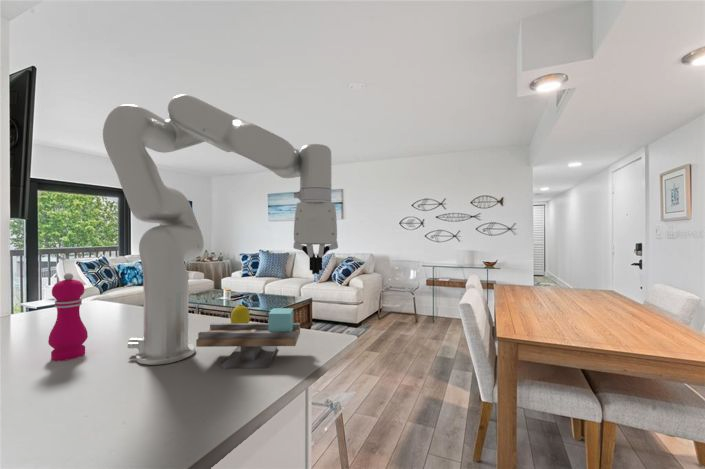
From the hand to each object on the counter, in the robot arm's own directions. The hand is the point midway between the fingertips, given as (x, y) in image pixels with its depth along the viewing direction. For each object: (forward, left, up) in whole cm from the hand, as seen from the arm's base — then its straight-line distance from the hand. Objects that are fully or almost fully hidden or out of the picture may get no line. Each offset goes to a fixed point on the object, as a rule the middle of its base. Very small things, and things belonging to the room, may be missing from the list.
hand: (315, 273), depth 81 cm
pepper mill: (-59, +2, -21) cm, 63 cm away
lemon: (-24, +22, -21) cm, 39 cm away
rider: (-8, 0, -14) cm, 16 cm away
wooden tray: (-15, 0, -20) cm, 25 cm away
